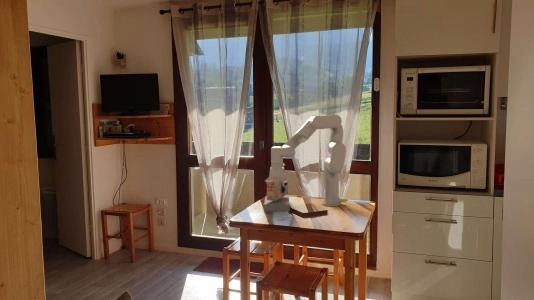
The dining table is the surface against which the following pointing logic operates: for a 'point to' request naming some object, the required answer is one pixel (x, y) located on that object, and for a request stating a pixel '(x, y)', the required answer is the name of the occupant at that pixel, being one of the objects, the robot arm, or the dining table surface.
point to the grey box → (277, 205)
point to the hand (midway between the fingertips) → (277, 192)
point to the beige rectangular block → (275, 189)
